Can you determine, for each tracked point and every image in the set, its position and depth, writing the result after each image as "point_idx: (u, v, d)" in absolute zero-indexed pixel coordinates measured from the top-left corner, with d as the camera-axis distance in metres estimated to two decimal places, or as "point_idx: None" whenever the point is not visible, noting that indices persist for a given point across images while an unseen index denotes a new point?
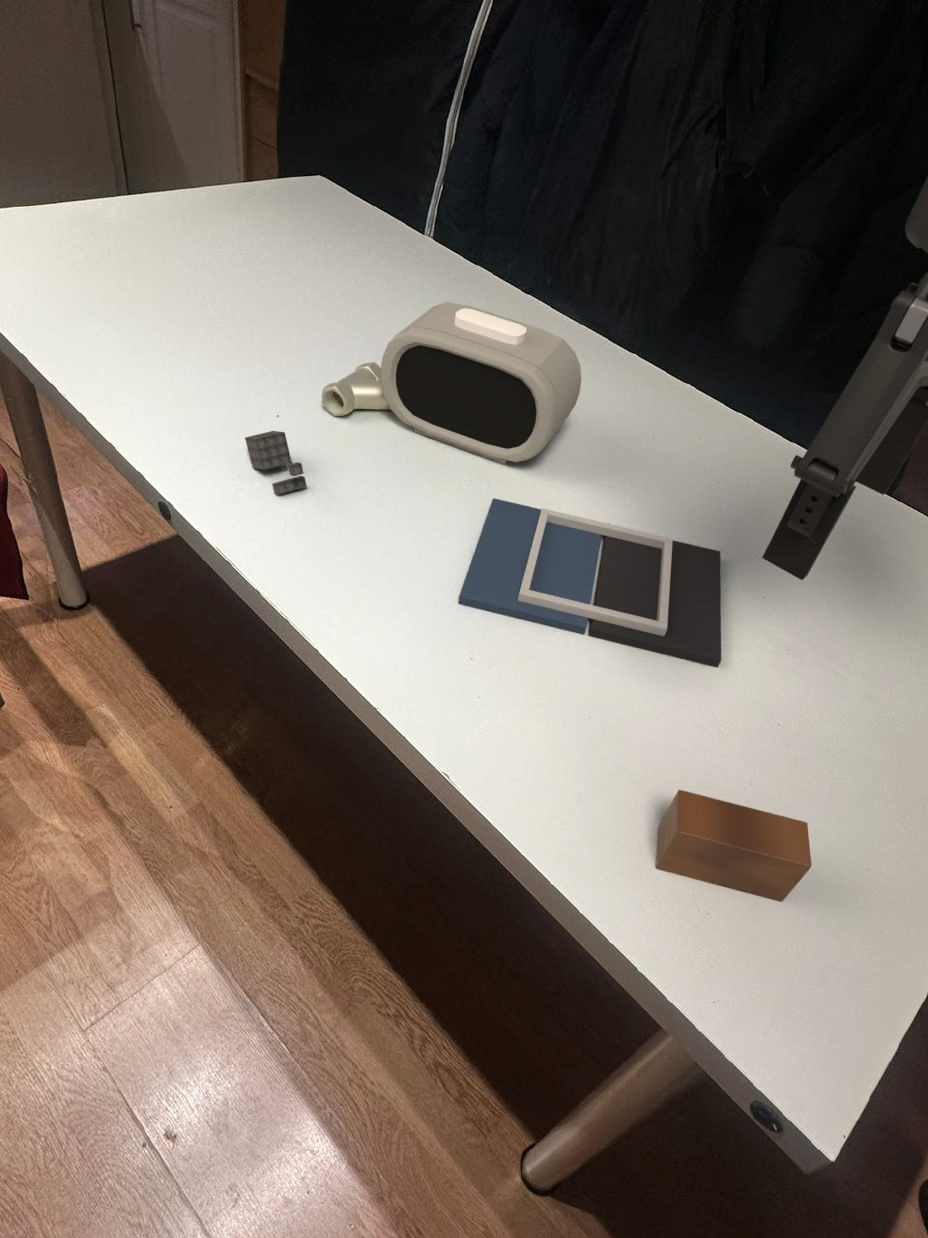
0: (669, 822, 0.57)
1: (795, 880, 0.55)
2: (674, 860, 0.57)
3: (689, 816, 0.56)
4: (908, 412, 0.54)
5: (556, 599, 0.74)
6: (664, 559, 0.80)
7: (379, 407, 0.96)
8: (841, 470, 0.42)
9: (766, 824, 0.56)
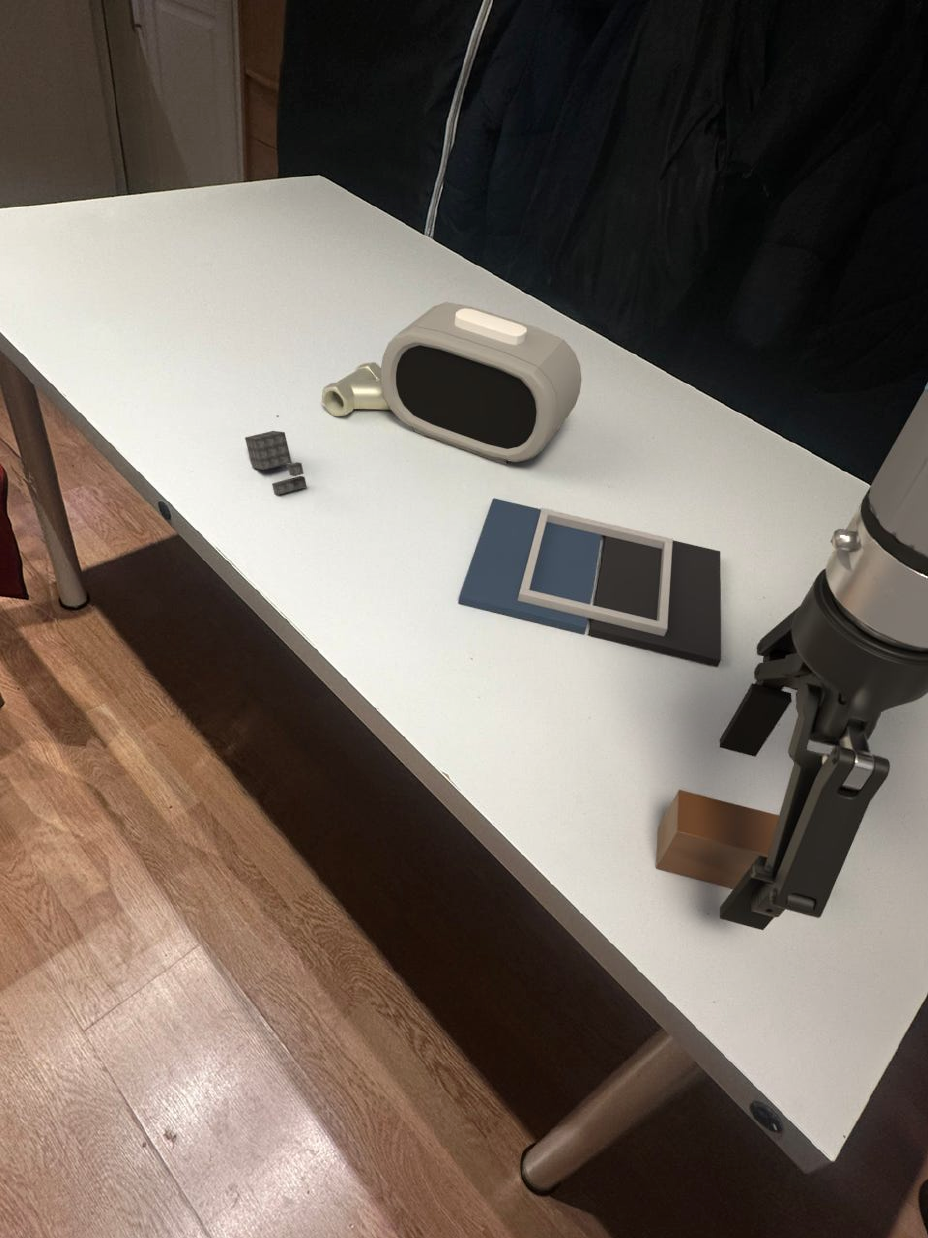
0: (669, 822, 0.57)
1: None
2: (674, 860, 0.57)
3: (689, 816, 0.56)
4: (770, 701, 0.56)
5: (556, 599, 0.74)
6: (664, 559, 0.80)
7: (379, 407, 0.96)
8: (819, 900, 0.43)
9: (766, 824, 0.56)
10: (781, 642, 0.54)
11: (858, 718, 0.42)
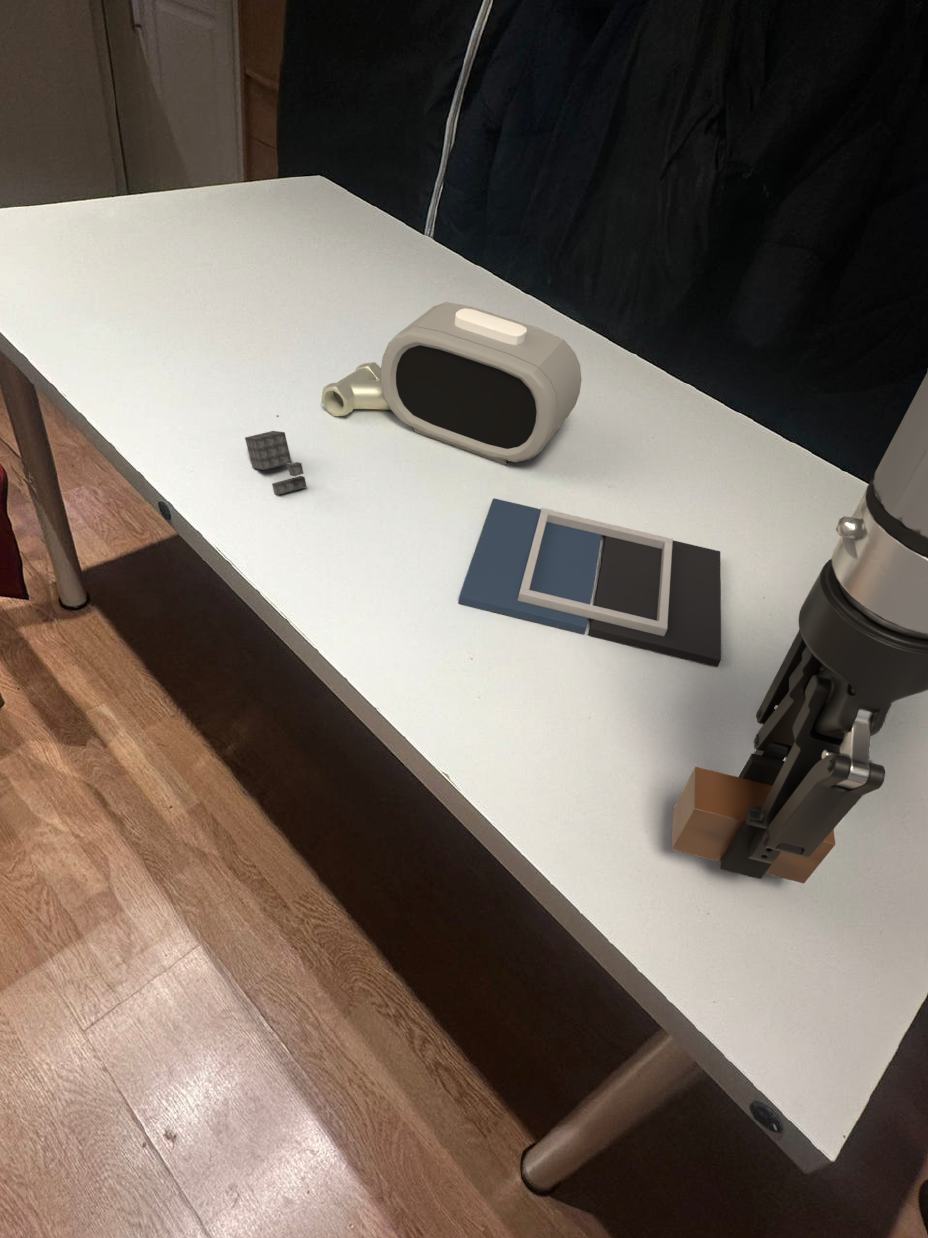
0: (685, 801, 0.55)
1: (818, 859, 0.53)
2: (691, 840, 0.55)
3: (707, 793, 0.53)
4: (771, 772, 0.54)
5: (556, 599, 0.74)
6: (664, 559, 0.80)
7: (379, 407, 0.96)
8: (806, 849, 0.47)
9: None
10: (783, 688, 0.52)
11: (868, 709, 0.41)
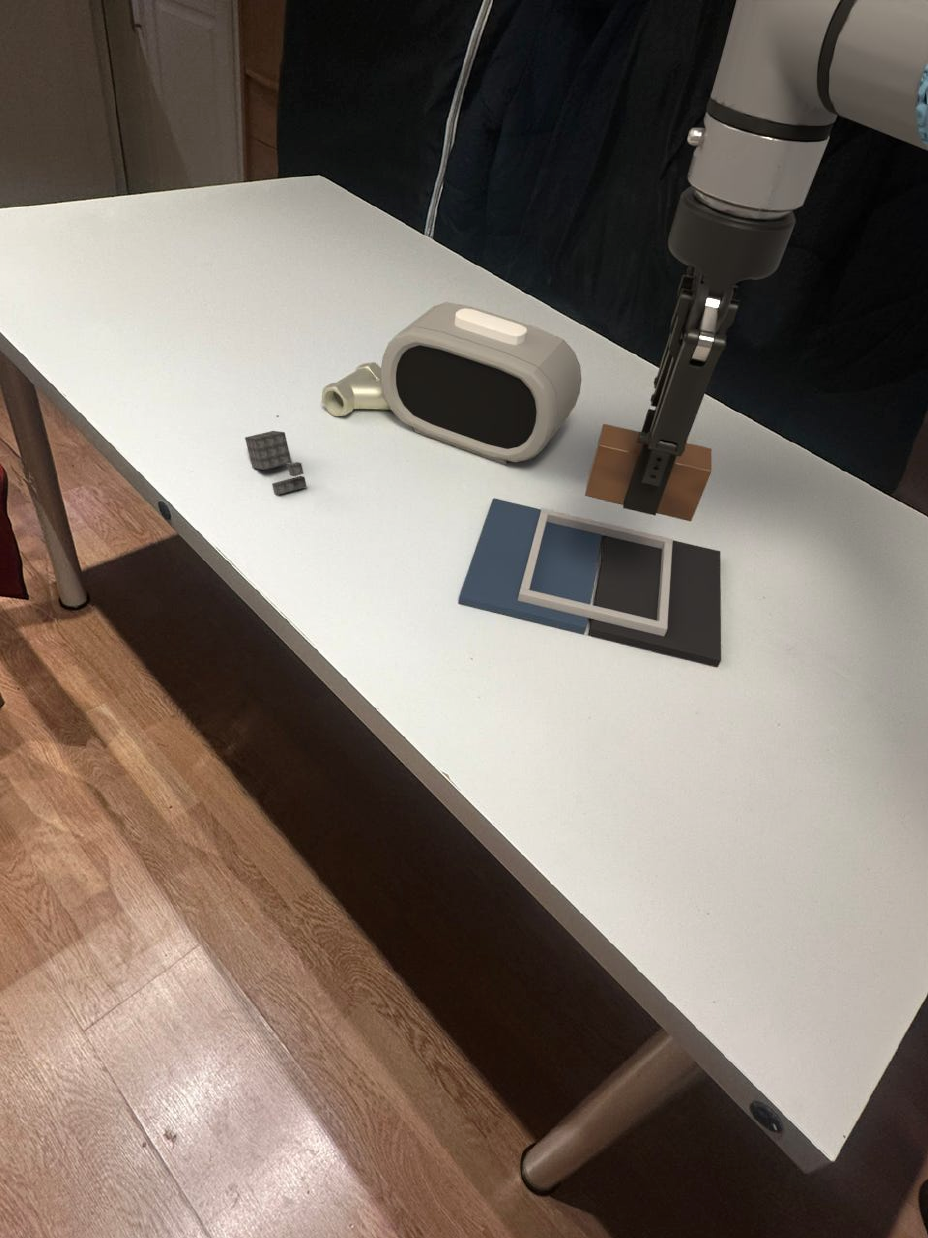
0: (595, 453, 0.68)
1: (699, 491, 0.66)
2: (599, 482, 0.67)
3: (610, 437, 0.66)
4: None
5: (556, 599, 0.74)
6: (664, 559, 0.80)
7: (379, 407, 0.96)
8: (679, 444, 0.59)
9: None
10: None
11: (716, 294, 0.53)
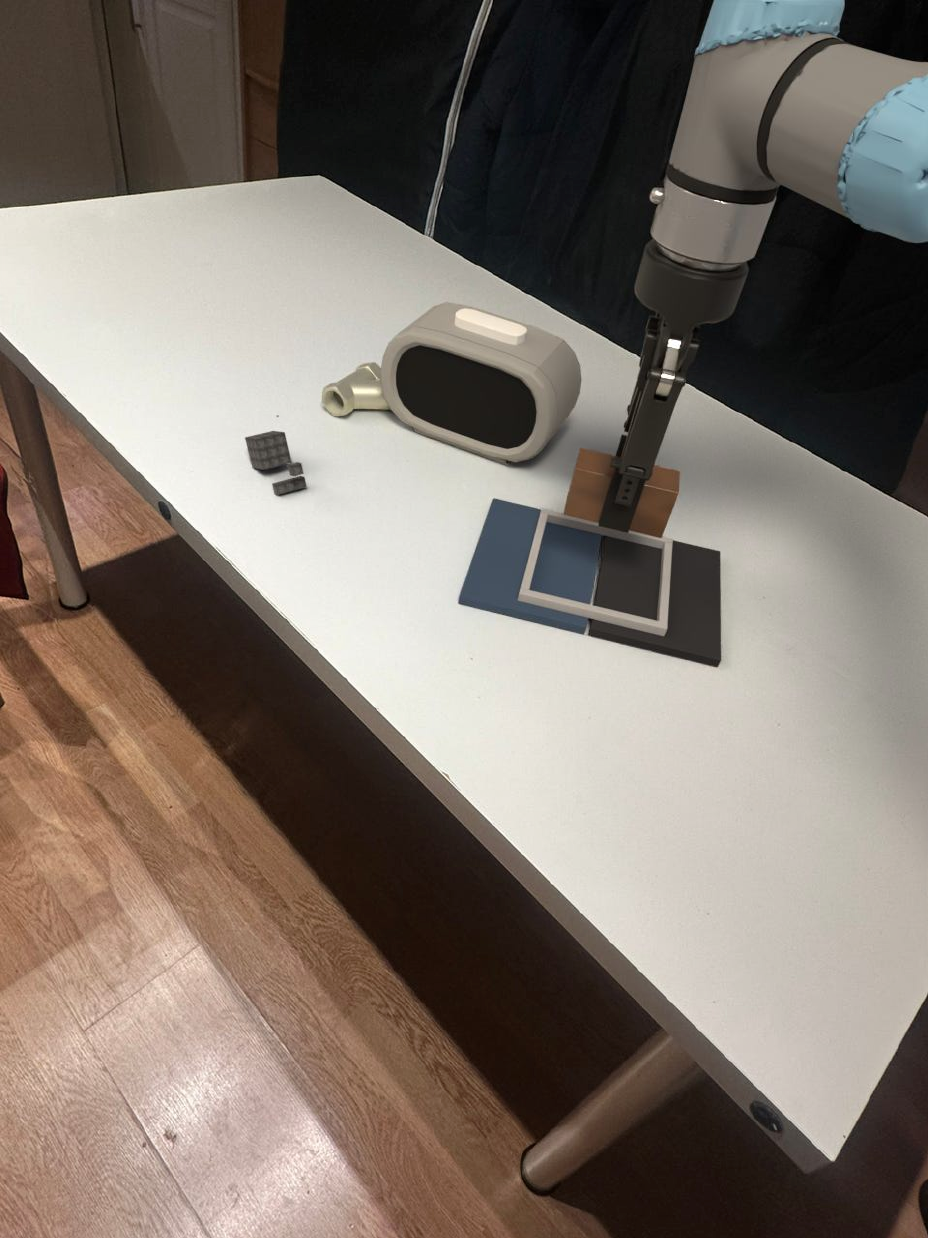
0: (573, 474, 0.73)
1: (668, 510, 0.71)
2: (576, 502, 0.73)
3: (586, 461, 0.71)
4: None
5: (556, 599, 0.74)
6: (664, 559, 0.80)
7: (379, 407, 0.96)
8: (646, 469, 0.65)
9: None
10: None
11: (677, 336, 0.59)
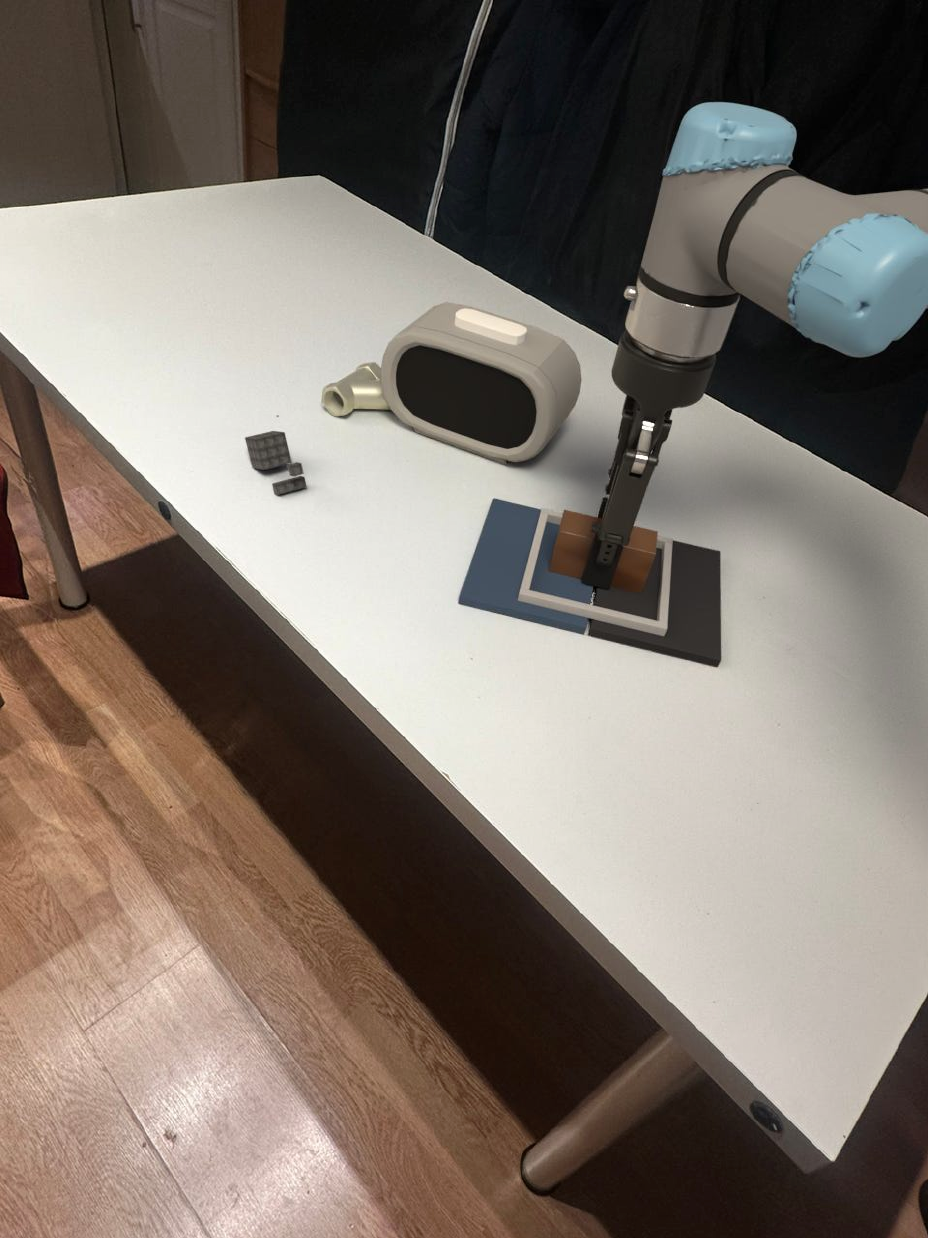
0: None
1: (646, 569, 0.76)
2: (560, 560, 0.77)
3: (569, 523, 0.76)
4: None
5: (556, 599, 0.74)
6: (664, 559, 0.80)
7: (379, 407, 0.96)
8: (624, 537, 0.69)
9: None
10: None
11: (650, 419, 0.64)
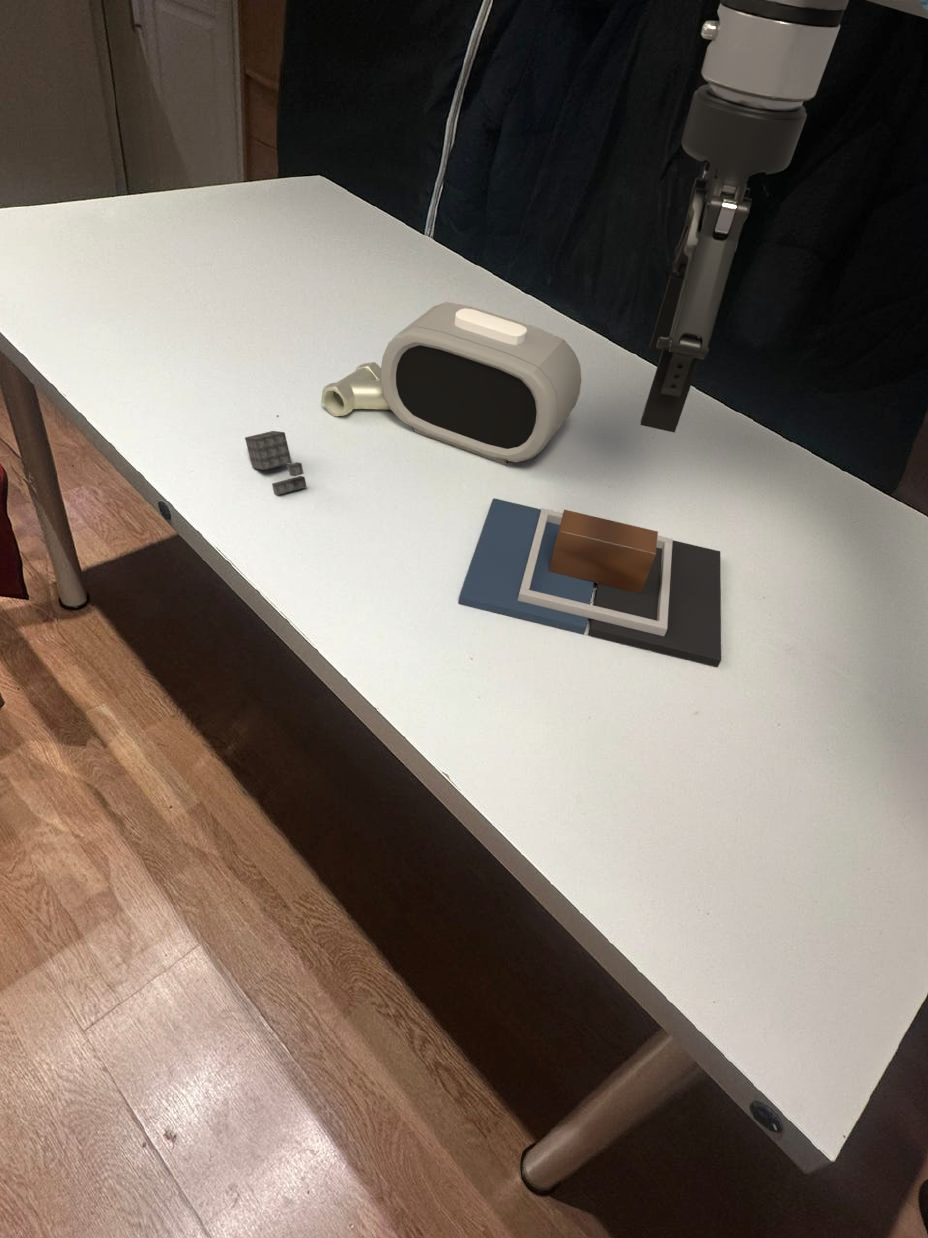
0: None
1: (646, 569, 0.76)
2: (560, 560, 0.77)
3: (569, 523, 0.76)
4: None
5: (556, 599, 0.74)
6: (664, 559, 0.80)
7: (379, 407, 0.96)
8: (704, 338, 0.56)
9: (626, 530, 0.76)
10: None
11: (729, 188, 0.55)
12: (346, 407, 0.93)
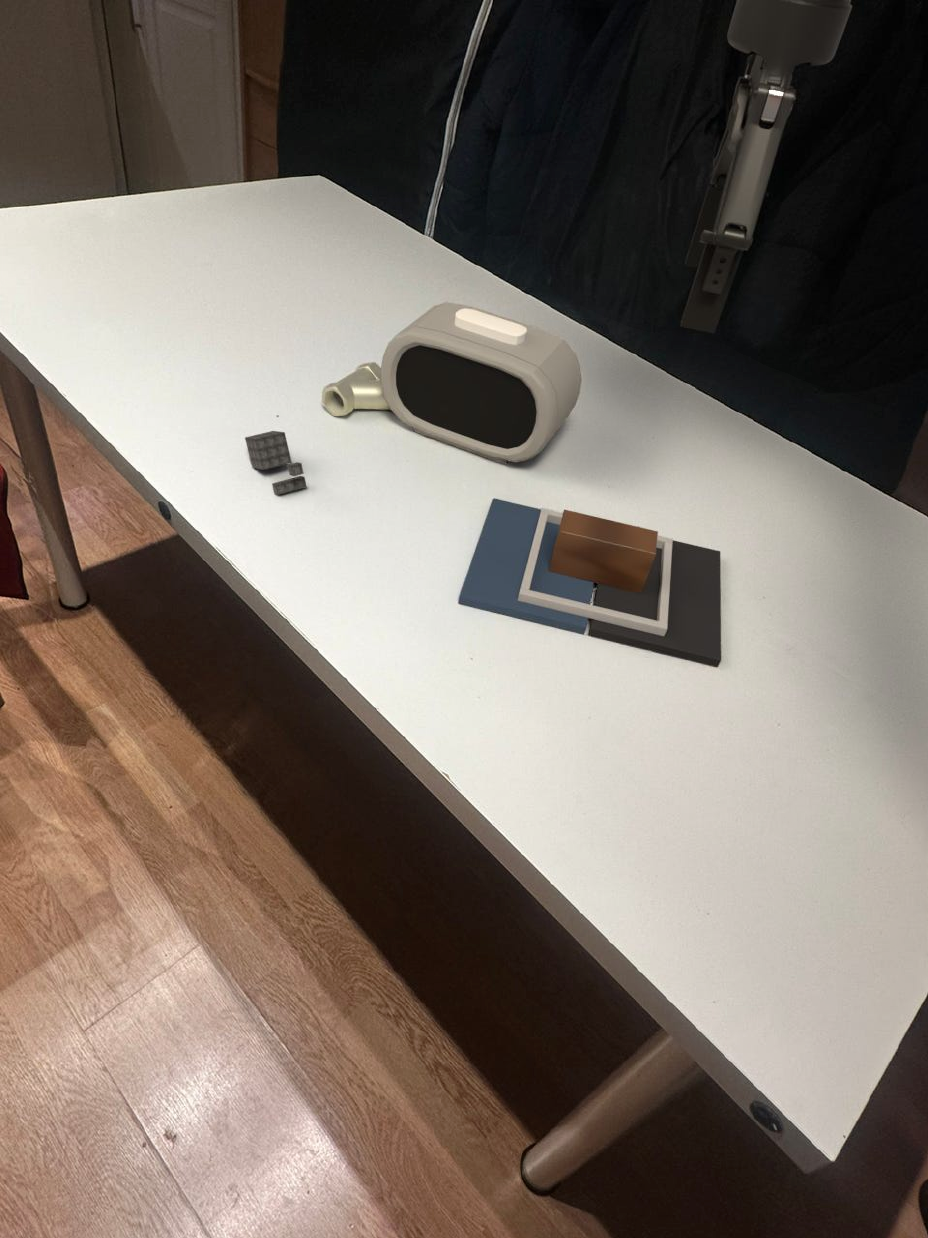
0: None
1: (646, 569, 0.76)
2: (560, 560, 0.77)
3: (569, 523, 0.76)
4: None
5: (556, 599, 0.74)
6: (664, 559, 0.80)
7: (379, 407, 0.96)
8: (748, 227, 0.57)
9: (626, 530, 0.76)
10: None
11: (775, 78, 0.56)
12: (346, 407, 0.93)
